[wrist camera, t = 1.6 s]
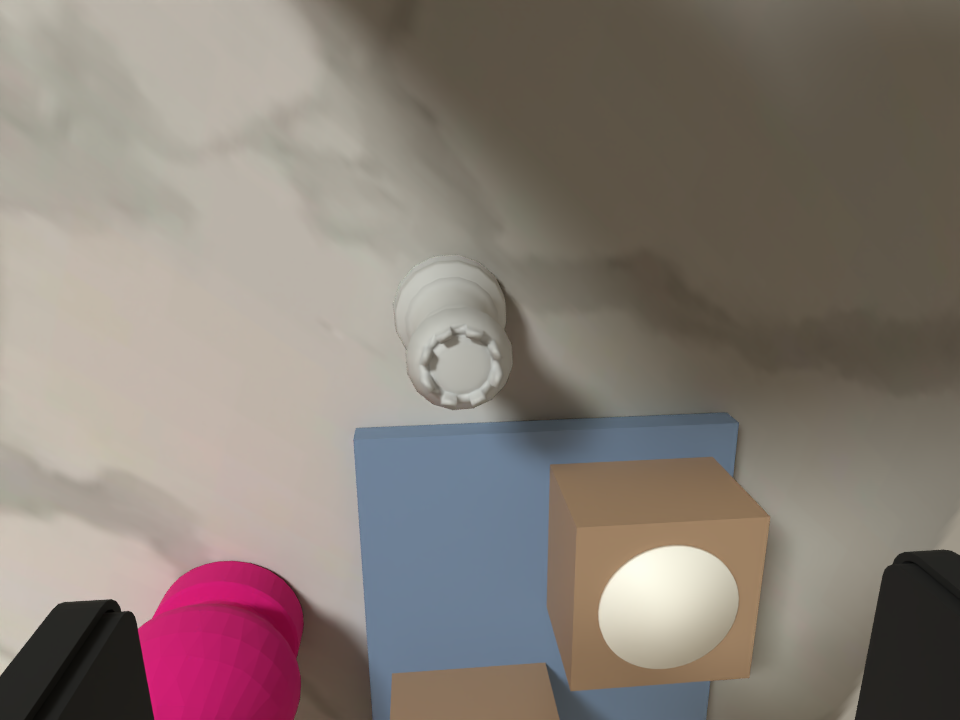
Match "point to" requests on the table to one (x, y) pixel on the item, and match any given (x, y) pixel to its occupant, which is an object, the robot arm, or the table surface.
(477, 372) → the rook chess piece
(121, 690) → the robot arm
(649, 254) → the table surface
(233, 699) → the pepper mill
